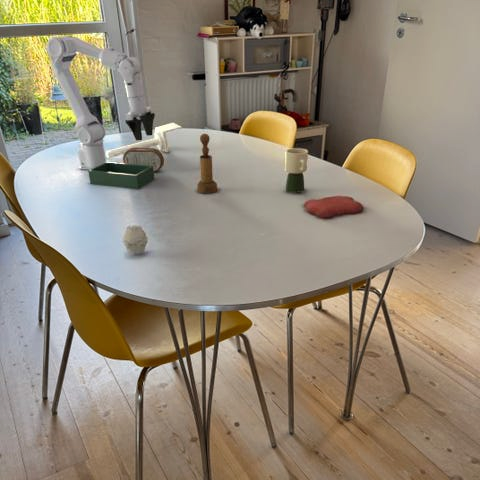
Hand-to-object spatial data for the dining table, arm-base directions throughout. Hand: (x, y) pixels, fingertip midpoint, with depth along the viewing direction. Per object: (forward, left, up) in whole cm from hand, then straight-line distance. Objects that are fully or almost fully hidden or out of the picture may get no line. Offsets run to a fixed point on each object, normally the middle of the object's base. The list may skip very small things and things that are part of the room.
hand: (144, 137), depth 173 cm
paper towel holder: (-15, +23, -12) cm, 30 cm away
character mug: (+57, -5, -12) cm, 59 cm away
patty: (+72, -17, -12) cm, 75 cm away
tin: (-2, 0, -12) cm, 13 cm away
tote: (-3, -13, -12) cm, 18 cm away
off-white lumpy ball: (+31, -63, -12) cm, 71 cm away
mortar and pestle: (+29, -13, -12) cm, 34 cm away
